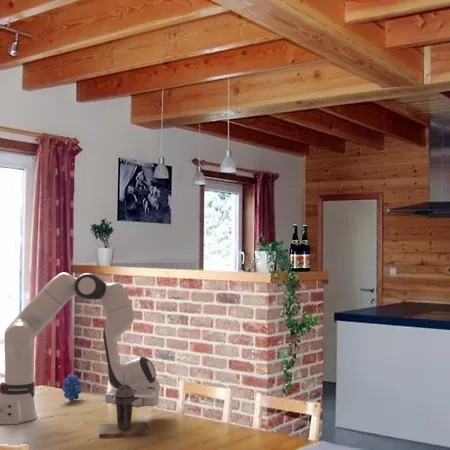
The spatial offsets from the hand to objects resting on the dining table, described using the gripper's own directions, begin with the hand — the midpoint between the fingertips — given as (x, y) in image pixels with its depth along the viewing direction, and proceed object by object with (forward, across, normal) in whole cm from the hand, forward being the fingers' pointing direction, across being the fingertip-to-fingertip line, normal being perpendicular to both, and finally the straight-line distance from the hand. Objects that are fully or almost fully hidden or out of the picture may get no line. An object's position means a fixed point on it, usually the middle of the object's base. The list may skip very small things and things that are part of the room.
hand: (123, 403), depth 250 cm
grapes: (-40, -41, +11) cm, 59 cm away
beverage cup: (-1, 0, +9) cm, 9 cm away
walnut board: (-1, 0, +11) cm, 11 cm away
